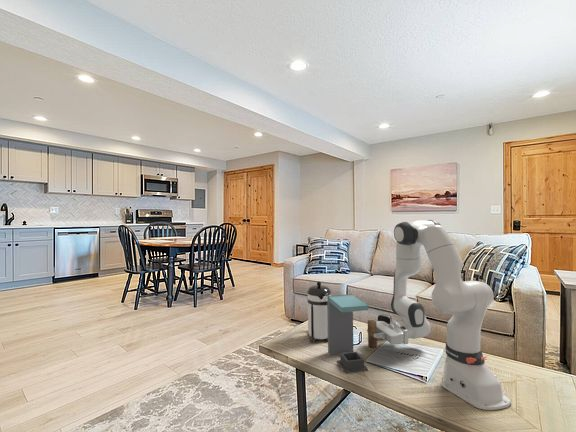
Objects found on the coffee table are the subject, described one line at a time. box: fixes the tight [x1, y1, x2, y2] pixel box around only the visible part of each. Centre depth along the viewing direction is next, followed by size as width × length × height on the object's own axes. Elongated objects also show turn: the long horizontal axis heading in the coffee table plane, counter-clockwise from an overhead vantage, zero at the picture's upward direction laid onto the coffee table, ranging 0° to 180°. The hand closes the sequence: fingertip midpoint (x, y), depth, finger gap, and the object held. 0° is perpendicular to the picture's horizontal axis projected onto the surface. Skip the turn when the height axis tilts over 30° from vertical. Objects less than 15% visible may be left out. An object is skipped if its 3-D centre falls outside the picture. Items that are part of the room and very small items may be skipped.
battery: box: [377, 313, 393, 324], centre depth 158 cm, size 7×4×11 cm, turn 54°
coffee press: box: [306, 281, 332, 343], centre depth 158 cm, size 17×16×30 cm
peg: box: [367, 319, 378, 350], centre depth 139 cm, size 4×4×12 cm
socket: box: [336, 351, 369, 374], centre depth 127 cm, size 10×10×4 cm
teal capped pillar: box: [327, 293, 370, 355], centre depth 132 cm, size 18×12×27 cm, turn 12°
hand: (370, 333), depth 138 cm, fingers closed on peg, 4 cm apart
